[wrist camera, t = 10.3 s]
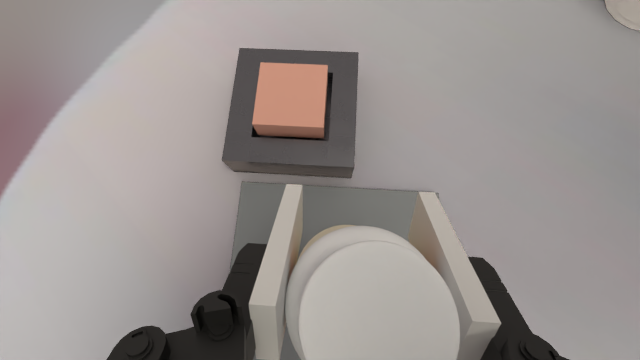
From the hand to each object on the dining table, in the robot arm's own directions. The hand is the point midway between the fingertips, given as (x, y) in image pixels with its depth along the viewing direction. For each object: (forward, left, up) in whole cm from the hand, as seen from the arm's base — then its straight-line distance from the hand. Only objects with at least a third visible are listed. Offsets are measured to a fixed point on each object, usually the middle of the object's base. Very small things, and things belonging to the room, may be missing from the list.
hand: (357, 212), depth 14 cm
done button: (+5, -9, -7) cm, 13 cm away
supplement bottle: (0, +4, -4) cm, 5 cm away
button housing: (+5, -9, -10) cm, 14 cm away
